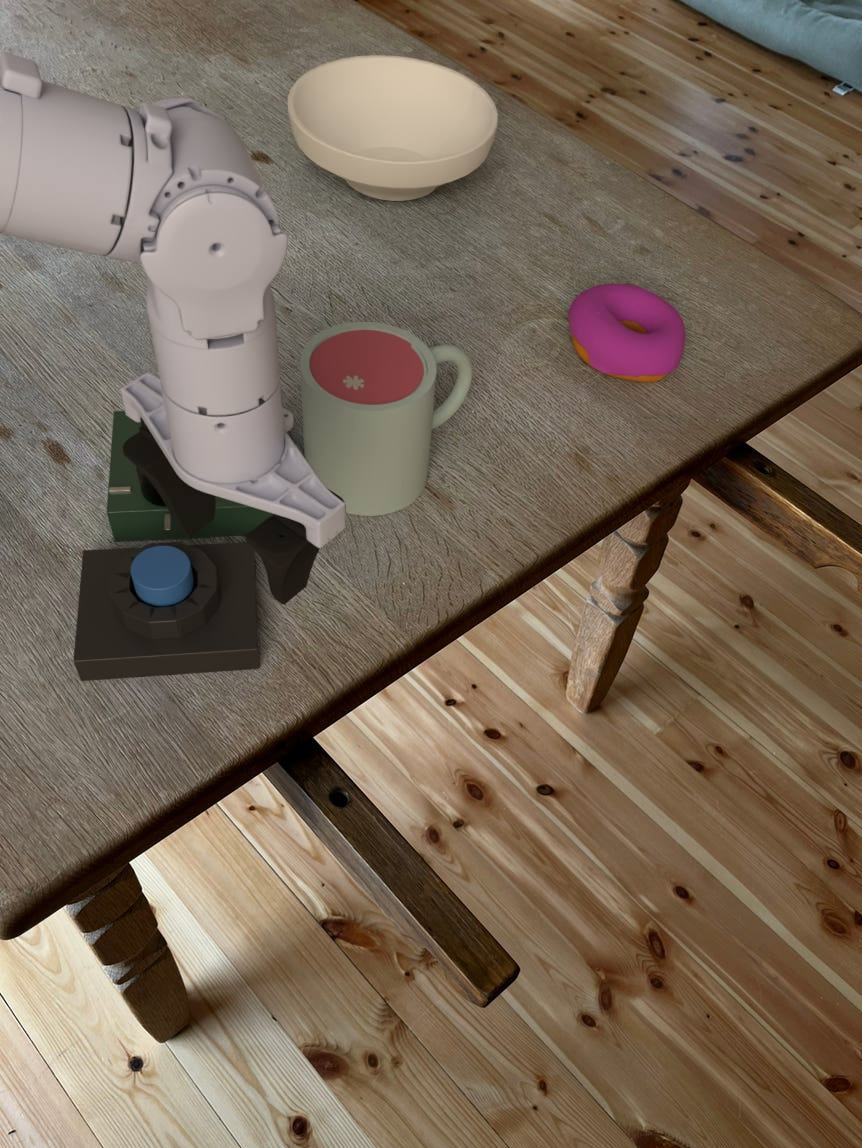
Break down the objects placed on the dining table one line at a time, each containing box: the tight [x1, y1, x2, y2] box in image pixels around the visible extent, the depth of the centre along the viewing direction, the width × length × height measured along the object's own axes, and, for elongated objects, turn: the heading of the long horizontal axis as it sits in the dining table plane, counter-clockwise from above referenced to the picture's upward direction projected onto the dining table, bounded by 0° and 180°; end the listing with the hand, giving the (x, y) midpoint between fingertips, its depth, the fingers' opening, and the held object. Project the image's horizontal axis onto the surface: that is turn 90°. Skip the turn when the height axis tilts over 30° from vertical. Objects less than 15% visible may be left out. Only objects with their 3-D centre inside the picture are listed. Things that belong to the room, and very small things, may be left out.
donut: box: [567, 282, 687, 383], centre depth 88 cm, size 10×10×5 cm
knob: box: [136, 467, 167, 507], centre depth 70 cm, size 4×4×4 cm
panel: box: [106, 410, 274, 543], centre depth 74 cm, size 12×12×3 cm
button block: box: [73, 541, 260, 682], centre depth 67 cm, size 11×9×4 cm
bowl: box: [286, 54, 499, 202], centre depth 100 cm, size 20×20×7 cm
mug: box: [299, 321, 473, 517], centre depth 75 cm, size 14×9×10 cm
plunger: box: [131, 545, 194, 606], centre depth 65 cm, size 4×4×2 cm
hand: (243, 558), depth 62 cm, fingers open, 7 cm apart
